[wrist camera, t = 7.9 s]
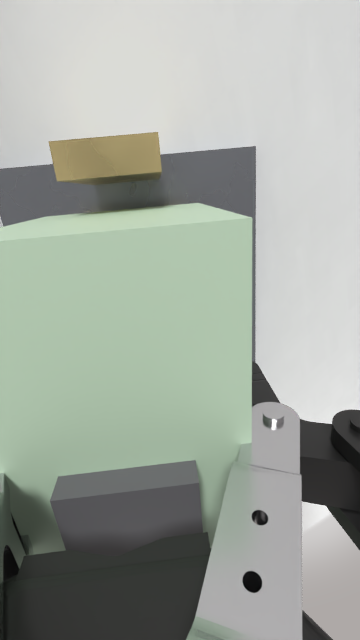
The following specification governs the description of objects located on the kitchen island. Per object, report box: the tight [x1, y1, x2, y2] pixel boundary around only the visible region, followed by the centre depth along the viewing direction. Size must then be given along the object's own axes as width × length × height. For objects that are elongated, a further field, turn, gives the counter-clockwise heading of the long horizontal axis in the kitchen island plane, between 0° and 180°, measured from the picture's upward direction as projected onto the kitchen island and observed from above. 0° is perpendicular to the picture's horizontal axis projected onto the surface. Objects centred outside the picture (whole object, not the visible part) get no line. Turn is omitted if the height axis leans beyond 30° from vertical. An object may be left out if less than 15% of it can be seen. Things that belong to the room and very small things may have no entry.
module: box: [0, 203, 252, 556], centre depth 10 cm, size 12×6×8 cm, turn 5°
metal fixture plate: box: [0, 132, 256, 362], centre depth 15 cm, size 16×12×7 cm
